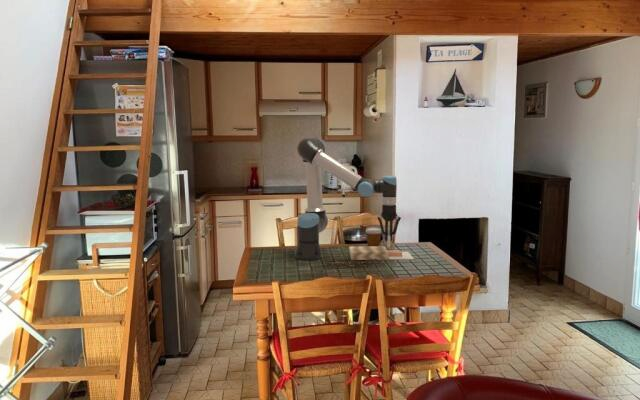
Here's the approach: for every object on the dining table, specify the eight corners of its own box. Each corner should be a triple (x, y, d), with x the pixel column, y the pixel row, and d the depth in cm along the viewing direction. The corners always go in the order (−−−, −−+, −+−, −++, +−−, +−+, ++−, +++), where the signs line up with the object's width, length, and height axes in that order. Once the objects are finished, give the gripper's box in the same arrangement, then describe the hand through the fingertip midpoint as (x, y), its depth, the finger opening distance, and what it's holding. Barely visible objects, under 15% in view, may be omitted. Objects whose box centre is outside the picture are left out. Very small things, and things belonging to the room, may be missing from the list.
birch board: (351, 259, 258) (351, 252, 257) (349, 253, 271) (349, 246, 271) (388, 259, 258) (388, 252, 257) (384, 253, 272) (384, 246, 271)
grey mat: (389, 259, 257) (389, 258, 257) (385, 252, 272) (385, 251, 272) (413, 259, 258) (413, 258, 258) (408, 252, 273) (408, 251, 272)
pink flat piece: (387, 256, 262) (387, 253, 262) (386, 253, 268) (386, 250, 268) (402, 256, 262) (402, 252, 262) (400, 253, 268) (400, 250, 268)
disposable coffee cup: (378, 251, 275) (378, 231, 274) (363, 249, 279) (363, 229, 278) (383, 248, 284) (384, 228, 282) (368, 246, 288) (368, 226, 286)
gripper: (378, 205, 257) (377, 248, 260) (402, 205, 257) (401, 248, 261) (376, 203, 264) (375, 245, 268) (399, 203, 265) (399, 245, 268)
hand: (388, 246), depth 264 cm, fingers closed
